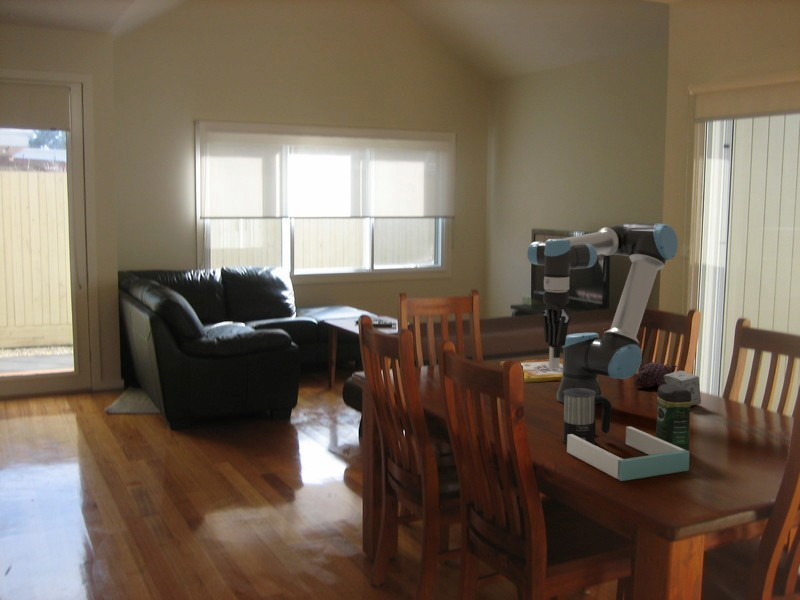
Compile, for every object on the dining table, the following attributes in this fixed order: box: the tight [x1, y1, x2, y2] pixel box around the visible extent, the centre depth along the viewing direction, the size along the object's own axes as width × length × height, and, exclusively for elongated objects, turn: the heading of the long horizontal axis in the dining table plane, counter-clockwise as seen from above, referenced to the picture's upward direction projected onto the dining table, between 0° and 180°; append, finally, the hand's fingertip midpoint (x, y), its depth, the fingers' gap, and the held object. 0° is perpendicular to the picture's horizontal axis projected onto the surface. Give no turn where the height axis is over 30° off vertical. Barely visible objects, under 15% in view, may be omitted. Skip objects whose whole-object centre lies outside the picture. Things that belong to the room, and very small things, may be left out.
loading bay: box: [566, 426, 690, 482], centre depth 226 cm, size 24×21×5 cm
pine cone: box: [633, 361, 677, 389], centre depth 307 cm, size 18×10×10 cm
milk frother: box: [562, 388, 612, 445], centre depth 246 cm, size 14×16×15 cm
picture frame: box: [499, 358, 563, 383], centre depth 332 cm, size 27×2×30 cm
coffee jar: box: [655, 384, 691, 452], centre depth 233 cm, size 10×8×19 cm
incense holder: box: [664, 370, 702, 406], centre depth 283 cm, size 10×8×10 cm
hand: (554, 367), depth 257 cm, fingers closed
